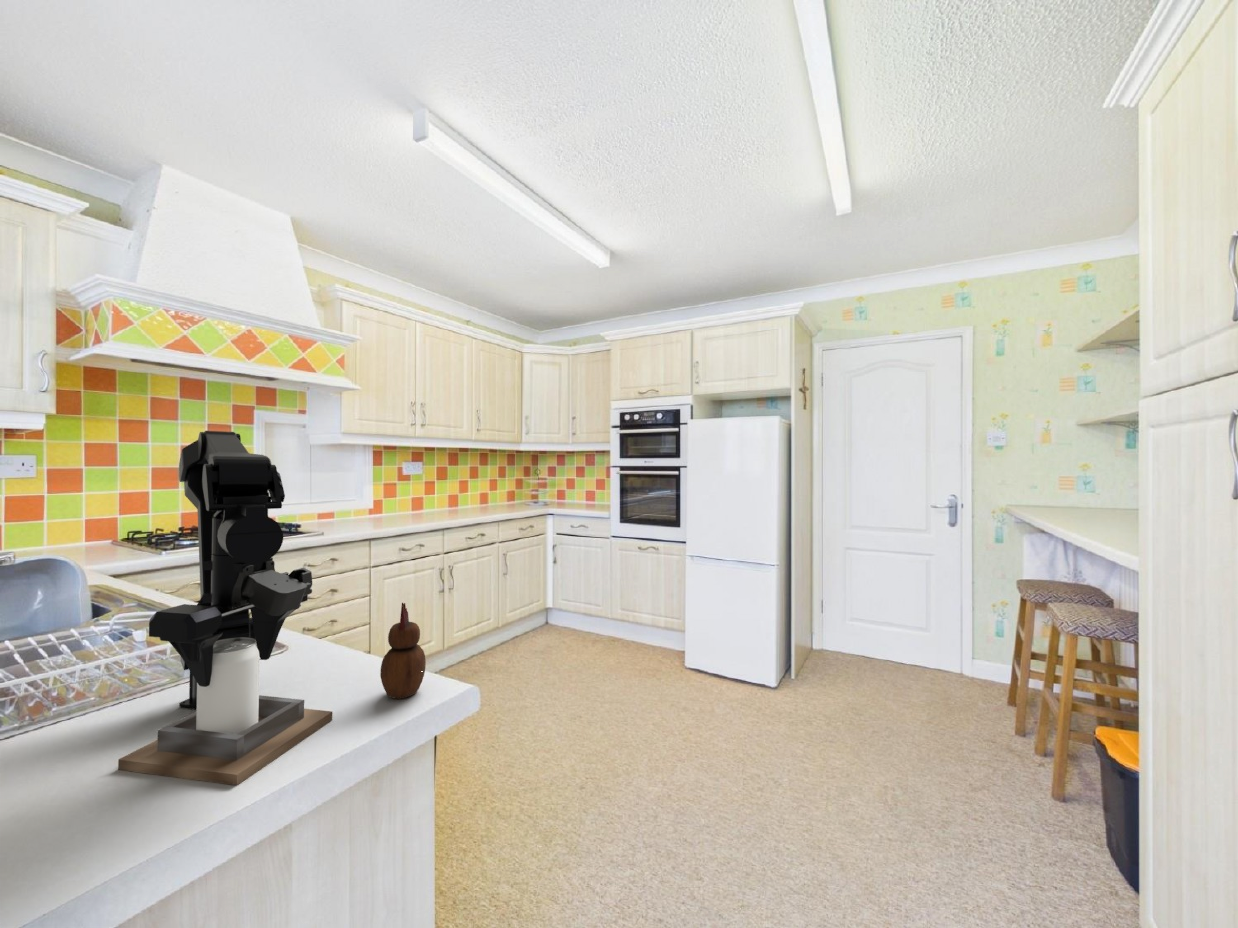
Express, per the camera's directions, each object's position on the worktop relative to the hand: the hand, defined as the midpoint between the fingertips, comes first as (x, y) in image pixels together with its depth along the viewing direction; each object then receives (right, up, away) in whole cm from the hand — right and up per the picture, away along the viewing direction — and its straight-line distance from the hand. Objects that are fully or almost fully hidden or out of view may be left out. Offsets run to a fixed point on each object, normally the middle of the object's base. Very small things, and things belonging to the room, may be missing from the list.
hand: (236, 671), depth 71 cm
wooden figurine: (+15, -10, +16) cm, 24 cm away
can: (0, -8, -1) cm, 8 cm away
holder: (0, -9, 0) cm, 9 cm away
